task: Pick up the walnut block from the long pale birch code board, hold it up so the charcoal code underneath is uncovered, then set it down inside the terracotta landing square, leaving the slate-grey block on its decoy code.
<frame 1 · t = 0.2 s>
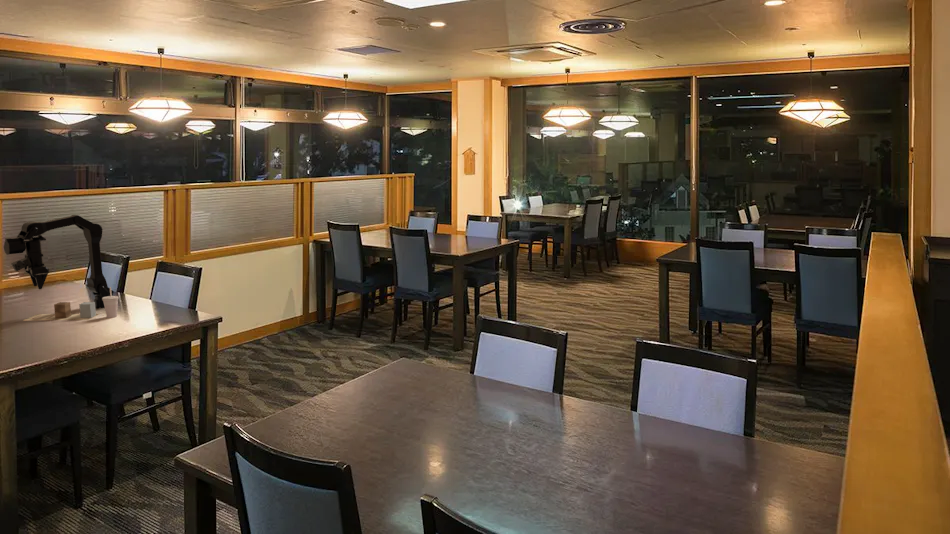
hand: (37, 287, 308), 14 cm above the table, fingers open, 9 cm apart
slate block: (88, 316, 311), point 1 cm above the table, touching code board
smoothie: (112, 319, 311), on the table
code board: (62, 319, 311), on the table
walnut block: (63, 316, 311), point 1 cm above the table, touching code board
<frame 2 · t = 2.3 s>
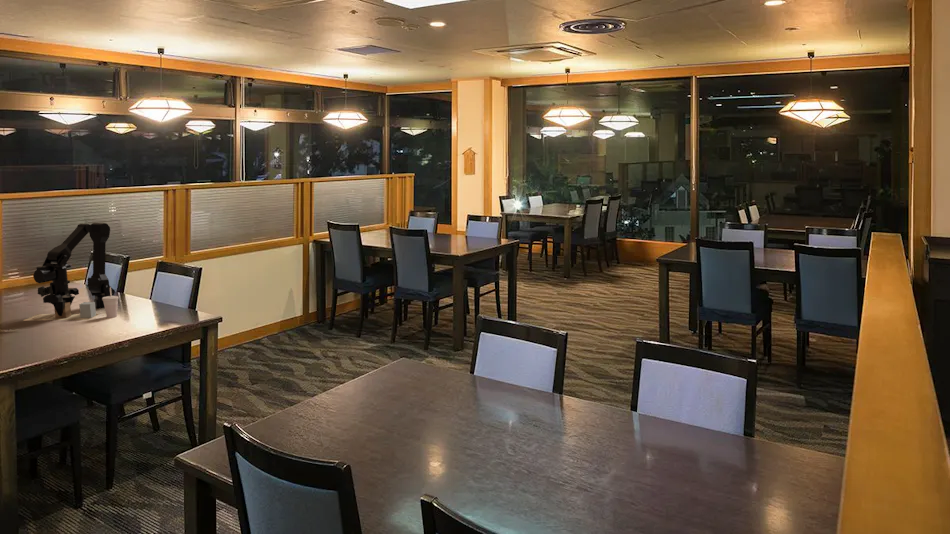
hand: (63, 314, 310), 2 cm above the table, fingers closed on walnut block, 4 cm apart
walnut block: (63, 316, 311), point 1 cm above the table, touching code board, gripper
everything else where it was.
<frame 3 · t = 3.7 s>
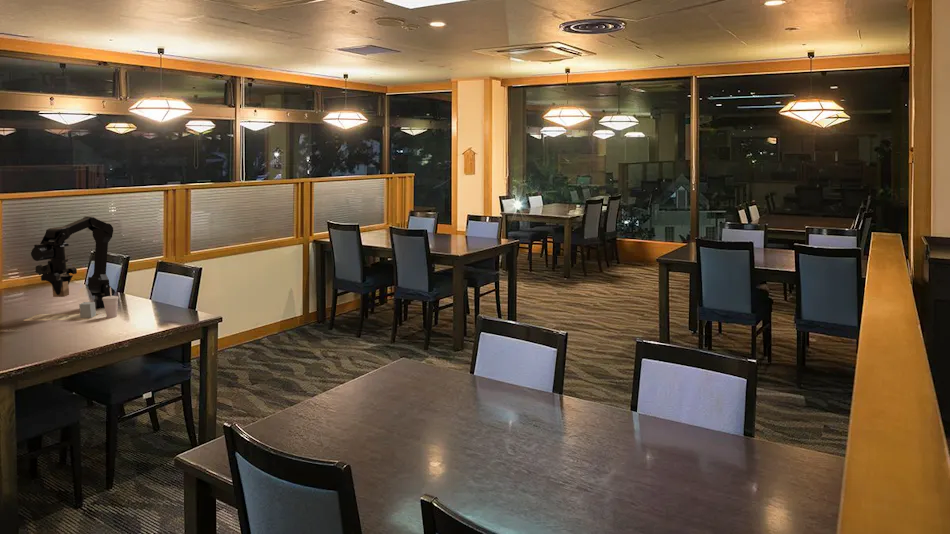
hand: (61, 293, 309), 11 cm above the table, fingers closed on walnut block, 4 cm apart
walnut block: (61, 295, 309), point 10 cm above the table, touching gripper
everything else where it was.
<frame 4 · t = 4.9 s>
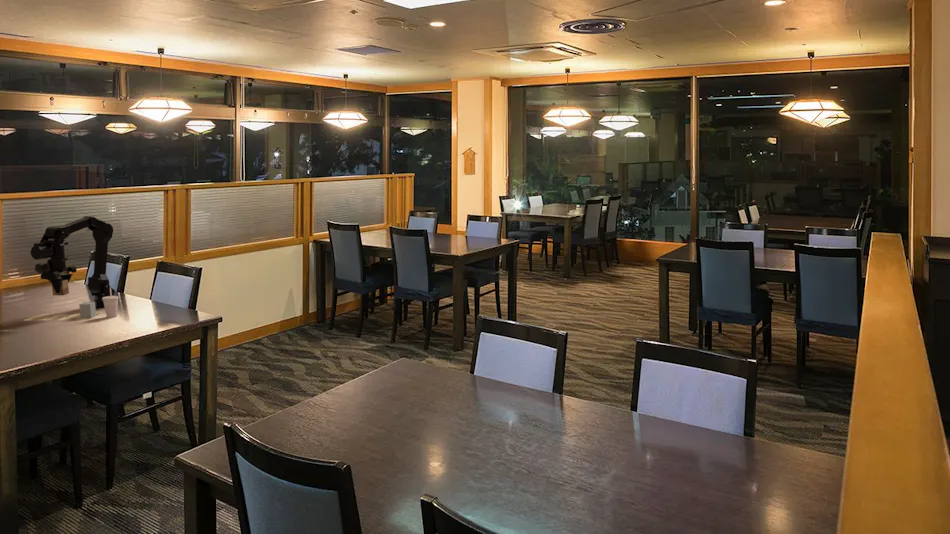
hand: (60, 292, 309), 12 cm above the table, fingers closed on walnut block, 4 cm apart
walnut block: (60, 294, 309), point 11 cm above the table, touching gripper
everything else where it was.
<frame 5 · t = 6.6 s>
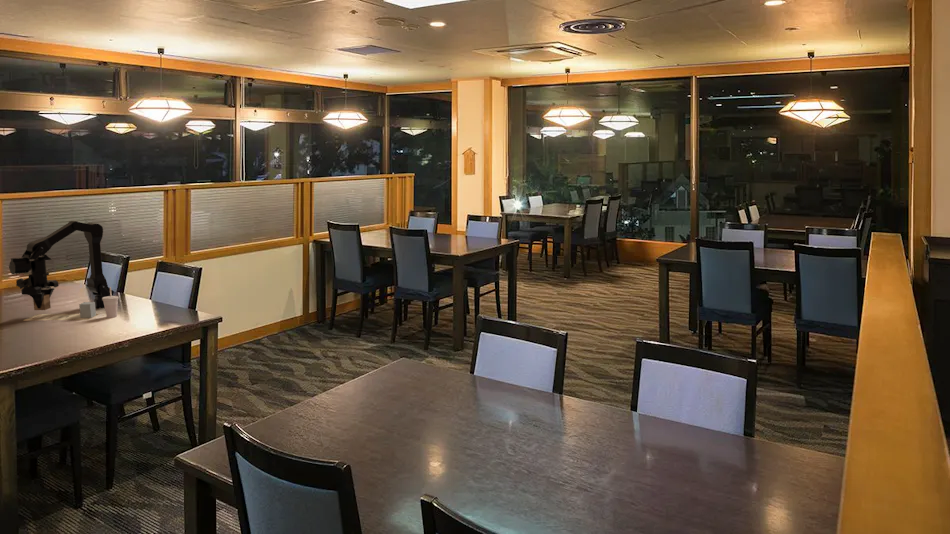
hand: (42, 306, 309), 6 cm above the table, fingers closed on walnut block, 4 cm apart
walnut block: (42, 309, 310), point 5 cm above the table, touching gripper
everything else where it was.
when the fingers open (3 cm above the table, at t = 7.8 s): walnut block drops 1 cm, resting on code board.
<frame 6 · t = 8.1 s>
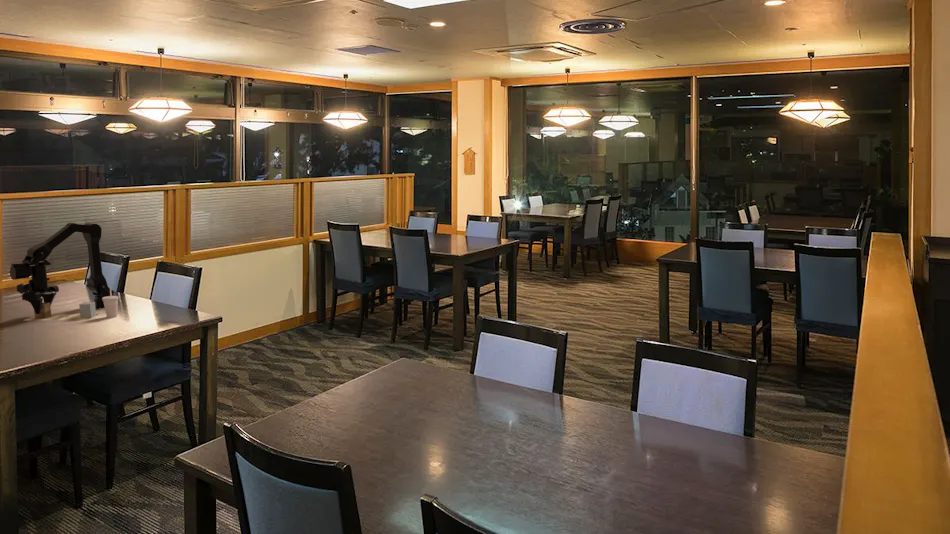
hand: (42, 312, 310), 3 cm above the table, fingers open, 7 cm apart
walnut block: (43, 317, 310), point 1 cm above the table, touching code board
everything else where it was.
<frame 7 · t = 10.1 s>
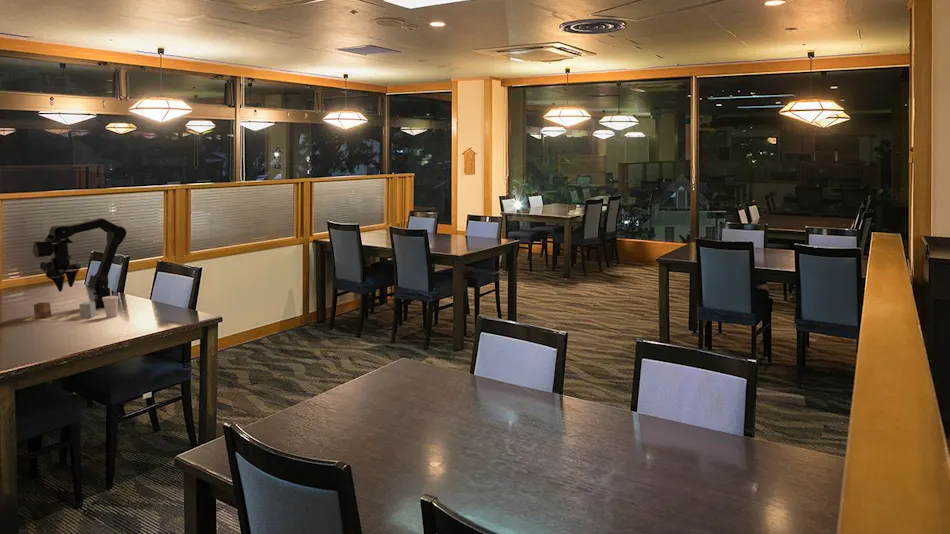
hand: (65, 289, 318), 12 cm above the table, fingers open, 9 cm apart
nothing on the table moved.
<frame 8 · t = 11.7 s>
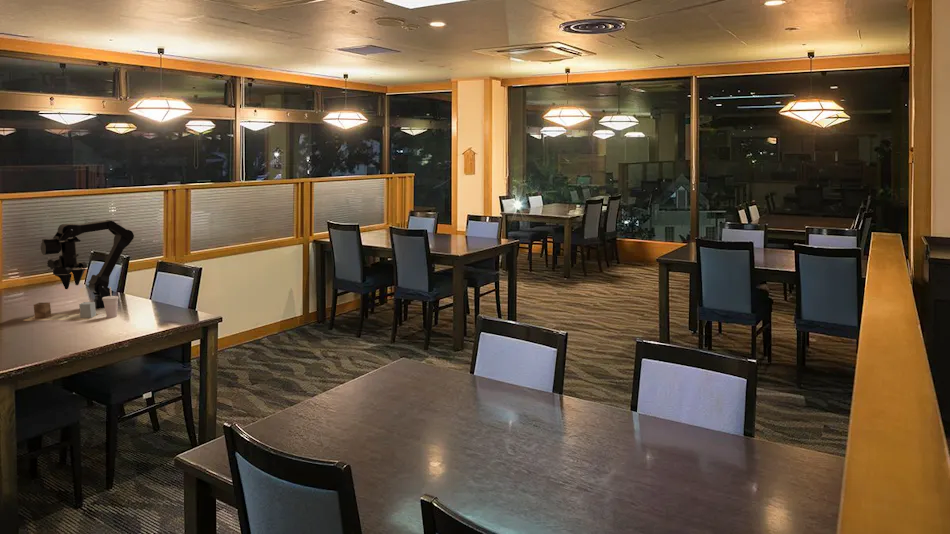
hand: (71, 287, 320), 12 cm above the table, fingers open, 9 cm apart
nothing on the table moved.
at the end: walnut block 0.1 cm from the target spot, point 1.0 cm above the table; walnut block tilted 0°; the gripper is holding nothing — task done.
